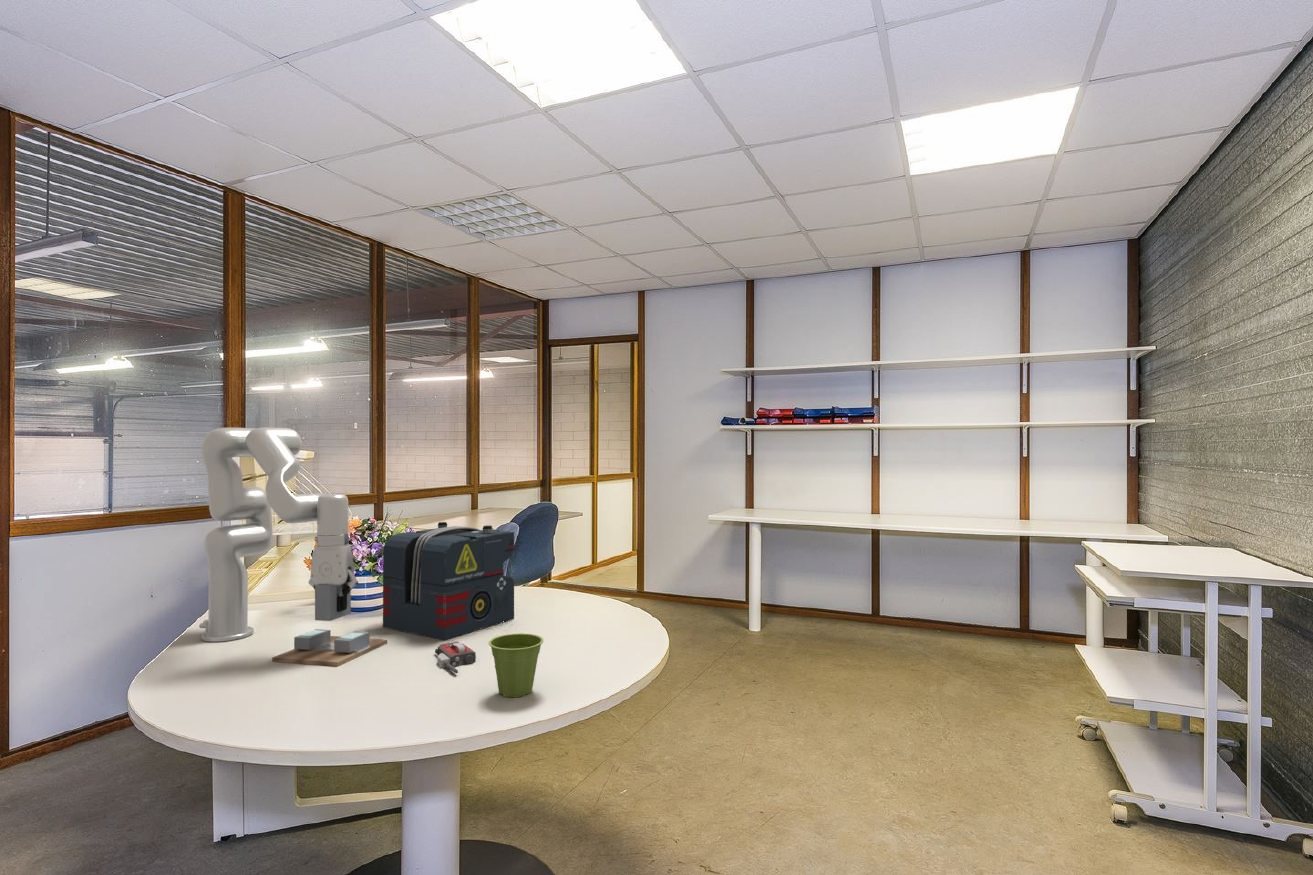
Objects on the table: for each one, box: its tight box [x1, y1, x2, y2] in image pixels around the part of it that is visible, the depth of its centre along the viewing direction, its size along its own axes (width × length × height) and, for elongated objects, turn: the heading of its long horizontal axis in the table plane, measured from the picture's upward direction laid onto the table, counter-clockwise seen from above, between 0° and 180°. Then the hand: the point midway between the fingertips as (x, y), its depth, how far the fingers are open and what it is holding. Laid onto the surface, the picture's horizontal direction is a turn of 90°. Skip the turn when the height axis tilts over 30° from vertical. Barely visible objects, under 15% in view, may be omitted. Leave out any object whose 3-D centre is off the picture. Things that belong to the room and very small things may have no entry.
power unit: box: [382, 521, 515, 641], centre depth 204 cm, size 28×28×30 cm
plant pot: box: [488, 632, 544, 698], centre depth 146 cm, size 12×12×11 cm
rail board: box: [271, 628, 388, 667], centre depth 175 cm, size 19×20×5 cm
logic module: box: [314, 582, 352, 622], centre depth 175 cm, size 4×8×9 cm, turn 168°
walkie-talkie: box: [434, 640, 477, 674], centre depth 166 cm, size 9×4×20 cm
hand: (333, 609), depth 175 cm, fingers closed on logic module, 4 cm apart
